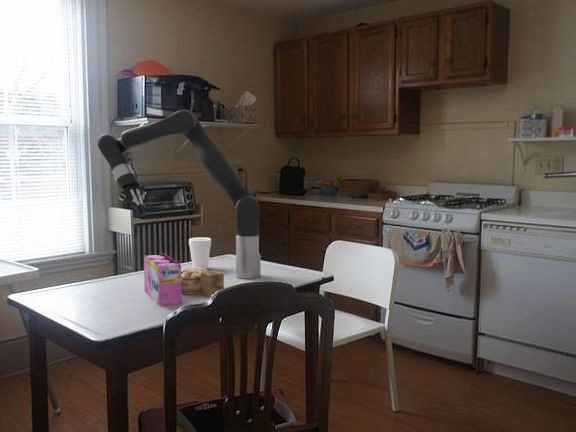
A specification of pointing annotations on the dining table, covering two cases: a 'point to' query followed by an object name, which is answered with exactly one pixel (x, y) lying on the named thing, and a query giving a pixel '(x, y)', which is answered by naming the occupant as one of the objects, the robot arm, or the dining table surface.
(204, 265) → the foam cup
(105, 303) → the dining table surface
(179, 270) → the gum box
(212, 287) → the walnut block
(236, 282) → the dining table surface
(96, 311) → the dining table surface
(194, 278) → the trinket box
